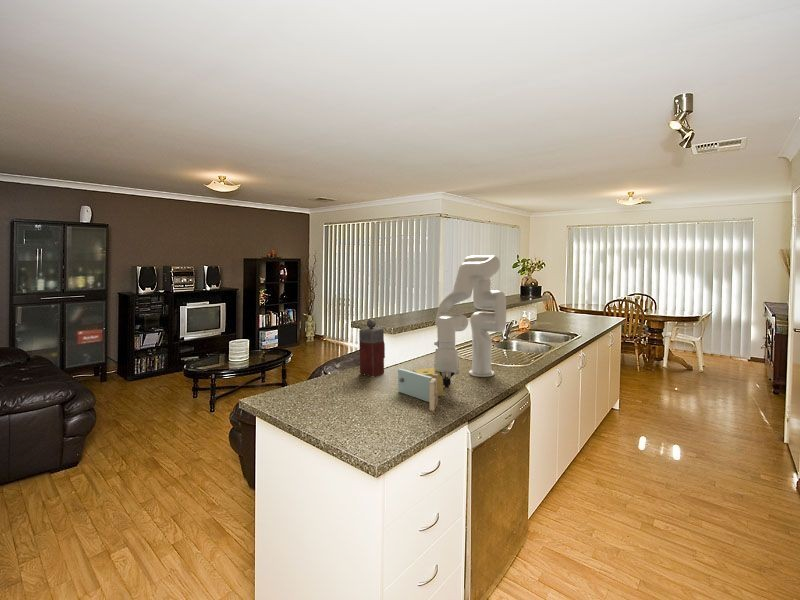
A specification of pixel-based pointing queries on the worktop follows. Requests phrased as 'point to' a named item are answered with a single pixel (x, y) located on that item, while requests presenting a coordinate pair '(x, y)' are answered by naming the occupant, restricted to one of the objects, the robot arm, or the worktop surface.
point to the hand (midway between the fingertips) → (446, 386)
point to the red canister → (371, 349)
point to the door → (414, 384)
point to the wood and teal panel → (434, 390)
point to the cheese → (429, 373)
